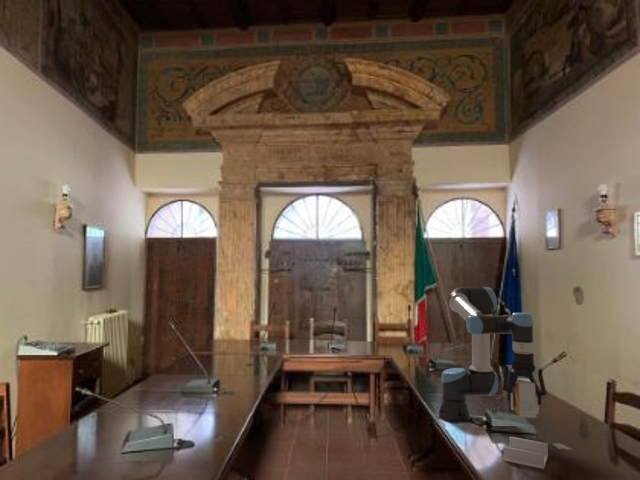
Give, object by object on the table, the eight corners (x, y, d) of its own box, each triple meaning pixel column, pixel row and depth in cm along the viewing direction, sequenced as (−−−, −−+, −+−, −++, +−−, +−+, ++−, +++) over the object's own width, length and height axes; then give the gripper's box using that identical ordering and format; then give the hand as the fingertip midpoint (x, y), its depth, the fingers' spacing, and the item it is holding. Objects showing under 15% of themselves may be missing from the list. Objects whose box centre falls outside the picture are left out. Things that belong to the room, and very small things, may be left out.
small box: (513, 410, 183) (512, 377, 184) (530, 411, 182) (529, 378, 183) (519, 417, 175) (518, 382, 176) (536, 418, 174) (535, 383, 175)
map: (557, 443, 193) (557, 441, 193) (604, 463, 174) (604, 460, 174) (549, 445, 191) (548, 443, 191) (595, 465, 172) (594, 462, 172)
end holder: (503, 460, 176) (503, 447, 176) (510, 448, 187) (509, 436, 187) (544, 468, 168) (543, 455, 169) (548, 456, 180) (547, 443, 180)
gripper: (493, 351, 183) (494, 409, 181) (551, 356, 172) (553, 418, 170) (497, 348, 189) (498, 404, 188) (553, 353, 178) (555, 412, 176)
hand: (524, 410), depth 179 cm, fingers closed on small box, 8 cm apart
